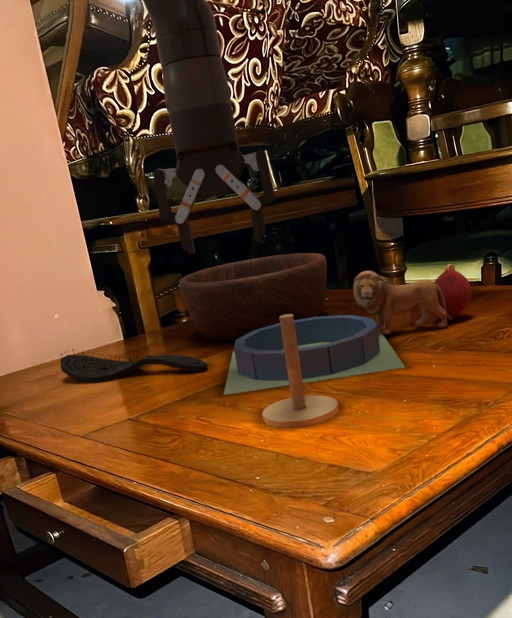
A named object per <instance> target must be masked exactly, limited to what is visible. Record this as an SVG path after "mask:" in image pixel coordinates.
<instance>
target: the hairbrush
mask: <svg viewBox="0 0 512 618" xmlns="http://www.w3.org/2000/svg"><path fill="white" fill-rule="evenodd" d="M71 350H72V352H73V354H70V352H69V350H67V351H64V352H63V353H64V354H65V356H64V357H63V356H62V355H64V354H63V353H60V369H61V372H62V373H64V374H66V375H67V376H68V377H70V378H71V379H72V380H73V381H78V382H79V381H80V382H87V383H88V382H89V383H95V384H97V383H103V382H107V381H112V380H115V379H117V378H120V377H123V376H125V375H127V374H130V373H132V372H134V371H135V370H136V371H137V370H138V369H139V368H141V367H143V366H144V365H145V366H147V365H148V366H149V365H151V366H153V365H154V366H155V365H157V366H160V365H161V366H166V367H170V368H175V369H179V370H183V371H189V372H194V373H198V372H206V371H208V370H209V369H208V363H207V362H205V361H204V360H202V359H199V358H195V357H193V356H188V355H180V354H179V355H178V354H177V355H176V354H158V355H145V356H144V357H143V358H141V359H140V360H139V358H138V357H139V355H135V354H133V355H131V356H127V355H126V357H125V356H124V355H123V356H122V357H121V355H119V357H118V355H114V357H113V355H112V354H111V355H110V354H107V356H105V355H104V353H102V357H99V356H97V355H100V353H99V352H98V353H97V355H95V353H92V355H87V354H85V353H84V349H83V350H82V352H81V354H80V353H79V351H77V354H75V350H74V348H73V349H72V348H71ZM67 352H68V354H67ZM87 352H88V354H89V353H90V351H87ZM108 356H109V358H108ZM61 357H62V358H61ZM112 357H113V358H112ZM131 357H132V358H134V361H132V360H133V359H132V358H131ZM121 359H122V360H121ZM125 359H126V360H125Z"/></svg>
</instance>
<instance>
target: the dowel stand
mask: <svg viewBox="0 0 512 618" xmlns="http://www.w3.org/2000/svg"><path fill="white" fill-rule="evenodd" d="M279 318H280V325H281V332H282V338H283V345H284V351H285V358H286V365H287V371H288V378H289V390H290V397H289V398H285V399H281V400H278V401H275V402H273V403H271V404H269V405H268V406H266V407H265V408H264V409H263V410H262V413H261V416H262V420H263V421H262V422H263V423H264V424H266V425H267V426H269V427H273V428H280V429H296V428H303V427H308V426H313V425H317V424H321V423H323V422H325V421H328V420H330V419H332V418H333V417H334V416H336V415H337V414H338V412H339V403H338V400H337V399H336V398H334V397H331V396H328V395H320V394H318V395H317V394H309V395H308V394H307V395H305V388H304V383H303V380H302V373H301V366H300V359H299V352H298V345H297V338H296V331H295V324H294V317H293V314H286V315H282V316H280V317H279Z"/></svg>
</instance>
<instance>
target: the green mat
mask: <svg viewBox="0 0 512 618" xmlns="http://www.w3.org/2000/svg"><path fill="white" fill-rule="evenodd" d="M378 335H379V345H380V353H378V354H377V355H376V356H374V357H373V358H372V359H370V360H369V361H368V362H366V363H364V364H362V365H359V366H356V367H353V368H350V369H347V370H344V371H341V372H337V373H334V374H330V375H324V376H318V377H311V378H304V379H302V380H303V384H309V383H315V382H321V381H329V380H334V379H341V378H348V377H355V376H360V375H368V374H374V373H375V374H376V373H382V372H388V371H392V370H400V369H406V366H405V364H404V363H403V362H402V360H401V359H400V357H399V356H398V354H397V353H396V351H395V350H394V348H393V347H392V346H391V344H390V343H389V341H388V340H387V338H386V337H385V334H382V330H381V331H378ZM328 343H331V342H318V343H312V344H305V345H299V346H298V348H305V347H311V346H318V345H324V344H328ZM281 350H284V349H281ZM281 387H290V385H289V380H255V379H252V378H249V377H246V376H243V375H241V374H239V373H238V369H237V363H236V358H235V352H234V350H233V351H232V355H231V360H230V363H229V367H228V373H227V377H226V382H225V386H224V391H223V396H229V395H235V394H242V393H243V394H244V393H248V392H256V391H262V390H268V389H269V390H270V389H274V388H281Z"/></svg>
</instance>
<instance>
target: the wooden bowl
mask: <svg viewBox="0 0 512 618" xmlns="http://www.w3.org/2000/svg"><path fill="white" fill-rule="evenodd" d="M327 273H328V265H327V258H326V256H325V255H324V254H322V253H316V252H301V253H300V252H299V253H298V252H297V253H287V254H286V253H285V254H276V255H275V254H274V255H269V256H268V255H267V256H261V257H255V258H250V259H244V260H239V261H234V262H228V263H224V264H219V265H215V266H212V267H208V268H204V269H201V270H198V271H195V272H192V273H190V274H187V275H185V276H183V277H181V278H180V280H179V281H178V287H179V291H180V293H181V297H182V299H183V302H184V305H185V308H186V310H187V313H188V315H189V317H190V319H191V321H192V322H193V325H194V326H195V327H196V329H197V330H198V331H199V332H200V333H201V334H202V336H204V337H205V338H207V339H209V340H212V341H217V342H235V341H236V340H237V339H238V338H240V337H242V336H244V335H246V334H248V333H250V332H252V331H254V330H257V329H260V328H264V327H267V326H271V325H275V324H278V323H280V318H279V317H280V316H282V315H286V314H293V317H294V320H299V319H305V318H311V317H319V316H320V314H321V313H322V310H323V306H324V303H325V299H326V294H327V293H326V292H327V279H328V277H327Z"/></svg>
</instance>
